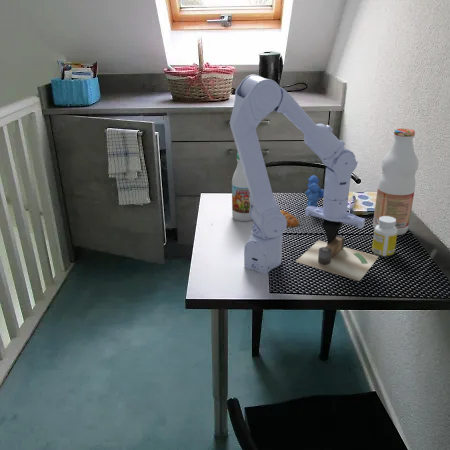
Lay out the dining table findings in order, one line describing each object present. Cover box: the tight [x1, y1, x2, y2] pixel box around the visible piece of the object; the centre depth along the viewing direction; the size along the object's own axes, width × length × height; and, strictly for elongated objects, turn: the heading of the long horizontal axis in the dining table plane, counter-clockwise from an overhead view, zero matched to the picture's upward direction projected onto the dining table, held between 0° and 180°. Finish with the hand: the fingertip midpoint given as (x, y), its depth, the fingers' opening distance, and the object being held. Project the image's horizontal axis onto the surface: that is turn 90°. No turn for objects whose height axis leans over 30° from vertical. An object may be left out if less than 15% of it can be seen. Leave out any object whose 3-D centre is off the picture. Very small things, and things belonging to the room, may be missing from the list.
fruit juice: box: [372, 127, 419, 236], centre depth 118 cm, size 9×9×28 cm
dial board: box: [295, 239, 380, 282], centre depth 108 cm, size 14×16×1 cm
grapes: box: [304, 174, 324, 208], centre depth 134 cm, size 12×7×12 cm, turn 172°
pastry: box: [280, 209, 300, 228], centre depth 128 cm, size 9×7×4 cm
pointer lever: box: [318, 234, 346, 264], centre depth 108 cm, size 11×3×4 cm, turn 142°
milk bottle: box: [231, 152, 253, 222], centre depth 130 cm, size 8×8×20 cm
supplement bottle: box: [371, 216, 398, 257], centre depth 109 cm, size 5×5×10 cm
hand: (331, 246), depth 111 cm, fingers closed, pressing on pointer lever
